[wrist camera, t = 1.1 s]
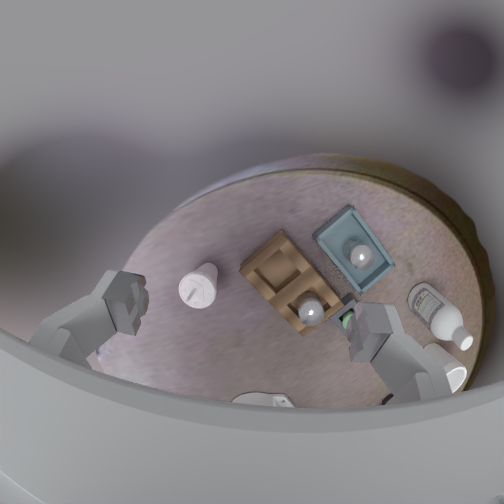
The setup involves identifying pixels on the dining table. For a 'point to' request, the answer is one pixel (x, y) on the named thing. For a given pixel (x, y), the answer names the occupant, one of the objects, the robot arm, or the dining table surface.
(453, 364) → the foam cup
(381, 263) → the tray
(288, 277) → the brown wooden tray
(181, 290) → the smoothie
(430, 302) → the bath foam
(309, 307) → the billet seated
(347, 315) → the button
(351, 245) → the billet
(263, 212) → the dining table surface
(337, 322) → the button housing
